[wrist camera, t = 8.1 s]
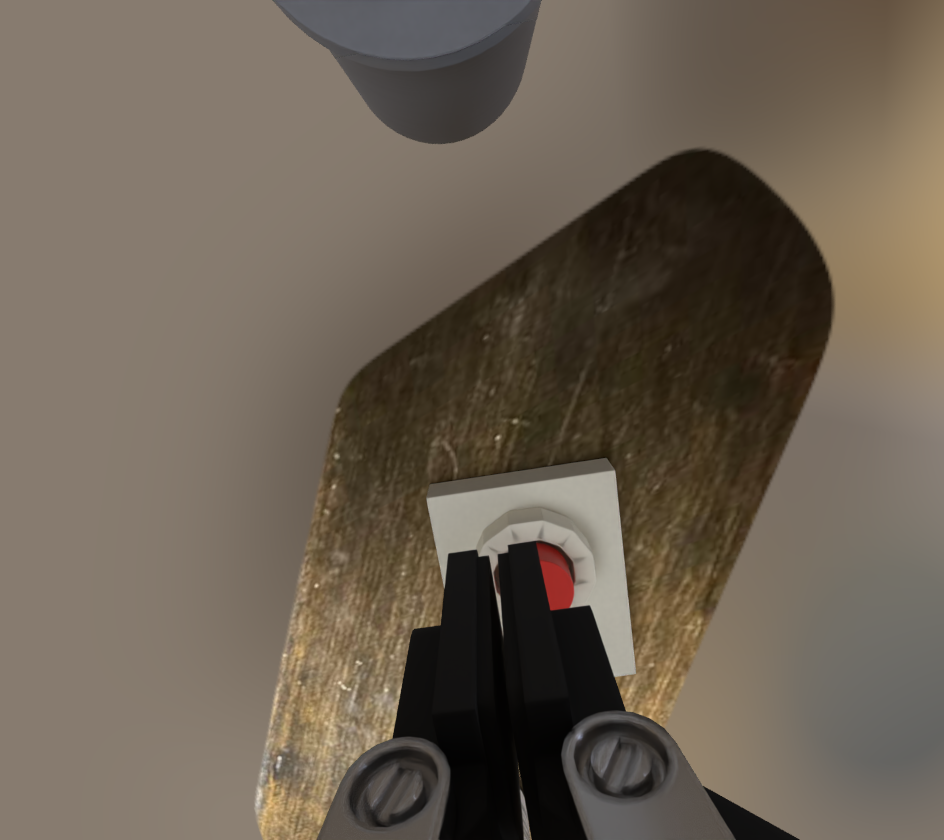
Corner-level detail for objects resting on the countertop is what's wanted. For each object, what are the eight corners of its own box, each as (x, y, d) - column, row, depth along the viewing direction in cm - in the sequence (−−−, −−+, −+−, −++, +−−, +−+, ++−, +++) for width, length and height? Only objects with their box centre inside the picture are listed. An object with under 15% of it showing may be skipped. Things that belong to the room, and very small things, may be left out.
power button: (494, 547, 32) (495, 566, 30) (564, 537, 32) (570, 555, 30) (504, 608, 33) (506, 630, 31) (572, 599, 33) (578, 620, 31)
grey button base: (429, 483, 35) (423, 511, 31) (606, 457, 34) (623, 481, 30) (466, 672, 38) (465, 718, 34) (627, 651, 38) (644, 695, 34)
